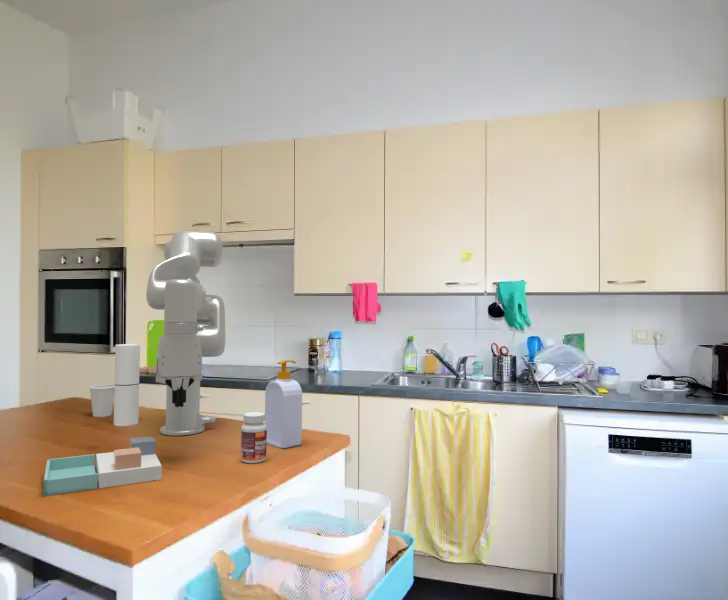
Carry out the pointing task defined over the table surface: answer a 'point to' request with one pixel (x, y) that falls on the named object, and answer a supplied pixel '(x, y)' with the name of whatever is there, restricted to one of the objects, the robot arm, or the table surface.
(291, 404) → the soap bottle
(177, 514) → the table surface
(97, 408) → the dixie cup
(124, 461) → the salmon pink box
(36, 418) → the table surface
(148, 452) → the grey block
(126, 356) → the cylindrical container
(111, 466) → the white flat block
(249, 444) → the pill bottle
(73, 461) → the tray
